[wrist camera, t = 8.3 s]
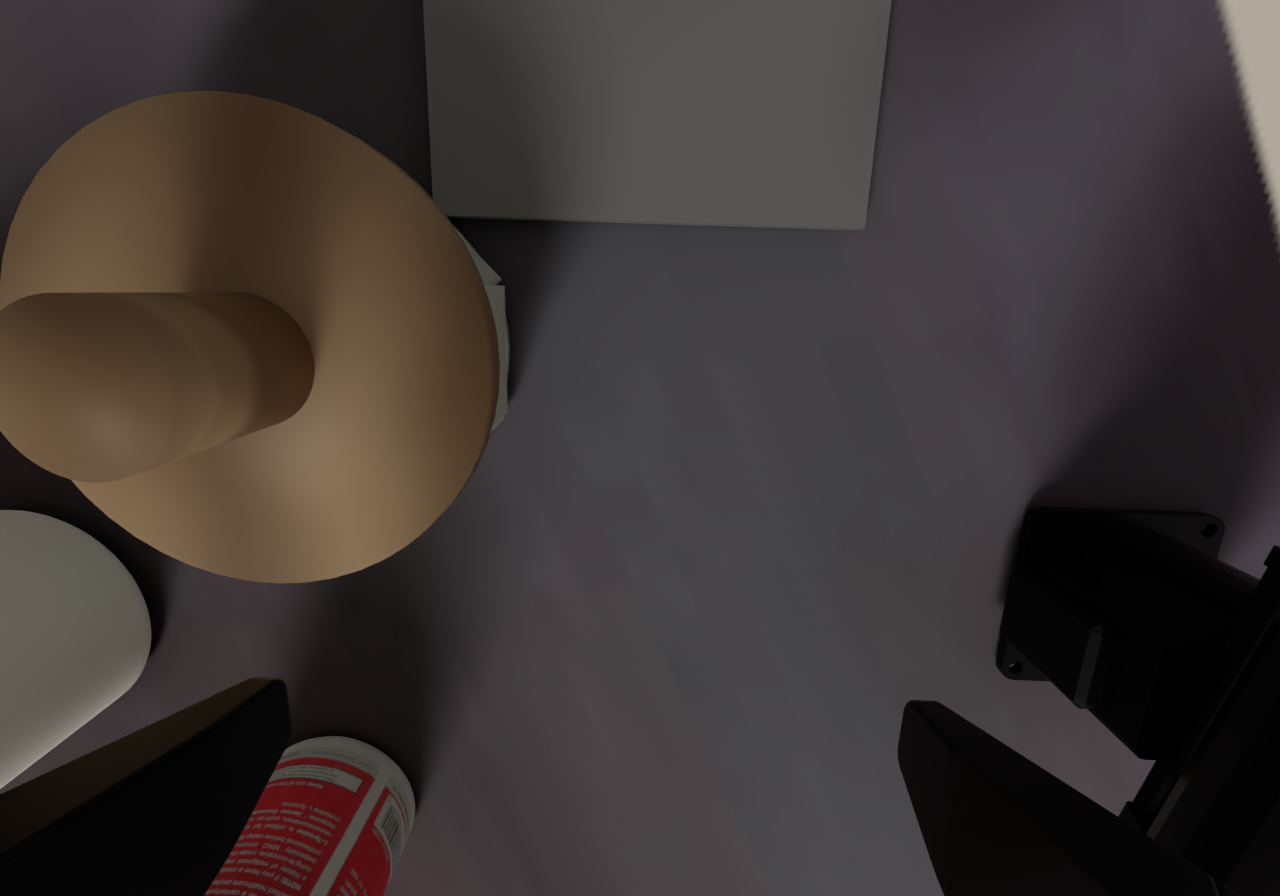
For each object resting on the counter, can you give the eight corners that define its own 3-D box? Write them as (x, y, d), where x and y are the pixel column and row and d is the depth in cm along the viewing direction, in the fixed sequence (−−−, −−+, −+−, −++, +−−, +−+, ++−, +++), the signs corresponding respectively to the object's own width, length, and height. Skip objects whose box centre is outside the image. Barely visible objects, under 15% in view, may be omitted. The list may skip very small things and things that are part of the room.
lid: (492, 110, 14) (395, 0, 9) (506, 572, 17) (440, 702, 12) (-9, 97, 14) (-410, -21, 9) (91, 560, 17) (-165, 683, 12)
